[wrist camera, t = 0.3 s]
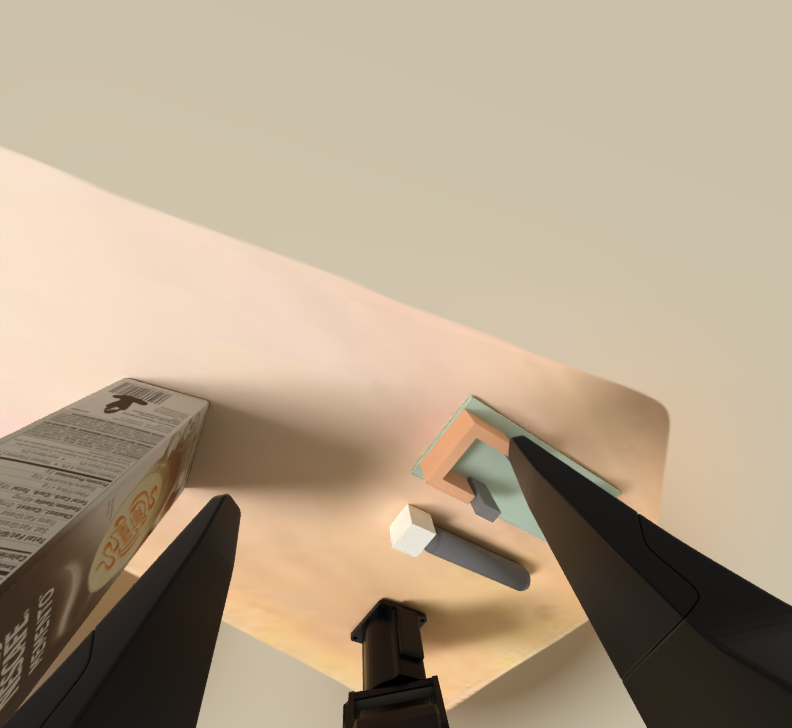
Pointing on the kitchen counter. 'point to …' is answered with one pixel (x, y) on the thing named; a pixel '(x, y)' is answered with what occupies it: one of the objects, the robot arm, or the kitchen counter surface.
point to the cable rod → (453, 548)
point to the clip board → (486, 465)
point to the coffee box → (81, 513)
